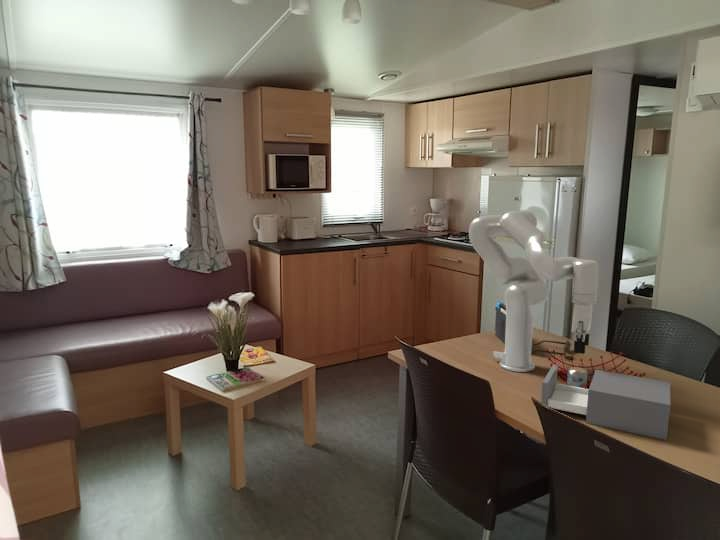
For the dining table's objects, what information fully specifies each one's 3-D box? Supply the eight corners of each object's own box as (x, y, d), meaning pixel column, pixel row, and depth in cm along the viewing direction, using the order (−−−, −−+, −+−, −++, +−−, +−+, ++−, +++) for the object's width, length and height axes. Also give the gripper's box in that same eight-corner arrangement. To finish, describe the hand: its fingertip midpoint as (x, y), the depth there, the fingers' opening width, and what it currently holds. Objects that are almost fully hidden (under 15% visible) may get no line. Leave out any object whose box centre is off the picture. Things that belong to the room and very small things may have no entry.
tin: (565, 388, 173) (566, 371, 172) (568, 382, 179) (569, 365, 178) (584, 392, 171) (586, 374, 169) (587, 386, 176) (588, 368, 175)
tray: (540, 409, 156) (542, 382, 154) (551, 389, 170) (553, 364, 169) (609, 423, 147) (611, 395, 145) (614, 401, 161) (616, 375, 160)
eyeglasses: (564, 361, 200) (565, 348, 199) (525, 354, 208) (526, 342, 207) (570, 350, 213) (571, 338, 212) (533, 344, 220) (534, 333, 219)
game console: (491, 332, 236) (493, 301, 234) (505, 332, 237) (507, 300, 234) (514, 352, 209) (516, 317, 206) (529, 352, 209) (531, 317, 207)
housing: (585, 422, 149) (588, 389, 148) (593, 399, 165) (595, 369, 163) (666, 440, 140) (670, 405, 138) (666, 413, 155) (669, 382, 153)
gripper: (575, 292, 178) (573, 340, 181) (567, 302, 163) (564, 354, 166) (599, 294, 175) (596, 343, 177) (593, 304, 160) (590, 358, 162)
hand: (581, 348), depth 172 cm, fingers open, 9 cm apart
